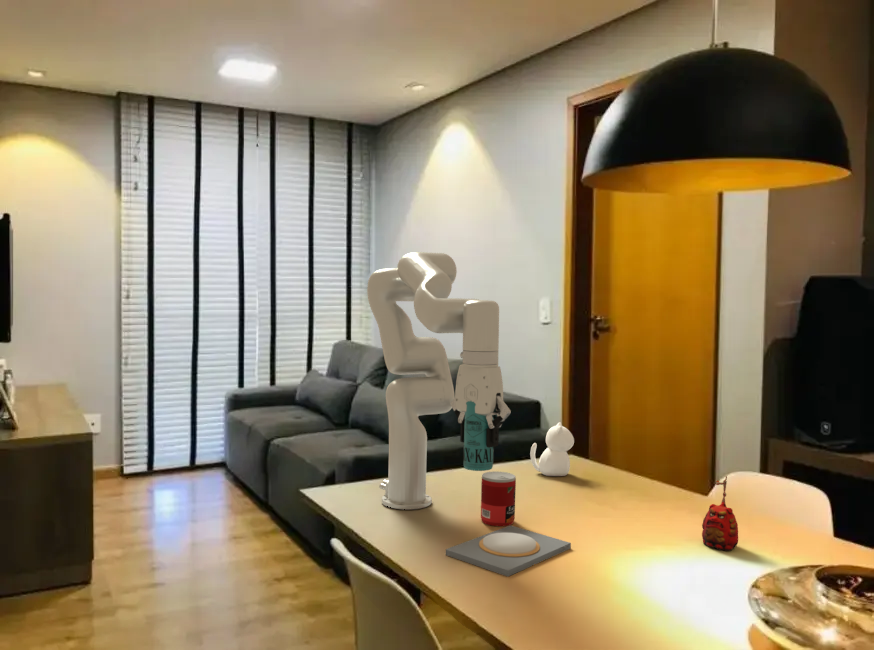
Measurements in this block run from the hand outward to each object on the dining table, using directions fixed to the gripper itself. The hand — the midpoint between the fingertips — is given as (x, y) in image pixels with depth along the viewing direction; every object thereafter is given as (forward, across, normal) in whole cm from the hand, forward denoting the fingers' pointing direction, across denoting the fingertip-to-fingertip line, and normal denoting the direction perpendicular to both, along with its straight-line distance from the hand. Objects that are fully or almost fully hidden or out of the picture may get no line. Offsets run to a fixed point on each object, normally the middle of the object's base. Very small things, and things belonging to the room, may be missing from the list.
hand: (479, 443), depth 163 cm
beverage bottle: (+7, 0, 0) cm, 7 cm away
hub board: (+22, +6, +3) cm, 23 cm away
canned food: (+22, -8, +16) cm, 29 cm away
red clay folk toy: (+23, +35, +40) cm, 58 cm away
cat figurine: (+22, -26, +62) cm, 70 cm away
